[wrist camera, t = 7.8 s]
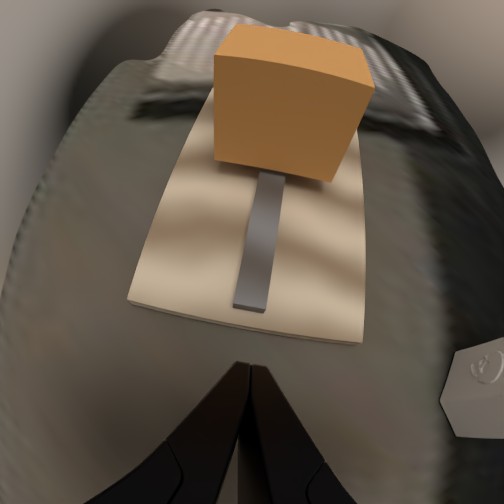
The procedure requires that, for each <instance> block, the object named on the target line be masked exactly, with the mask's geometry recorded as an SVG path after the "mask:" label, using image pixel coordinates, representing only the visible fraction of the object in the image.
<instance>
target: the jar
mask: <svg viewBox="0 0 504 504" xmlns="http://www.w3.org/2000/svg"><path fill="white" fill-rule="evenodd" d="M440 403H441V405H442V407H443V409H444V411H445V413H446V415H447V418H448V420H449V422H450V424H451V426H452V428H453V431H454V433H455V435H456V436H457V437H470V438H495V439H504V337H502V338H499V339H496V340H493V341H490V342H487V343H483V344H480V345H477V346H474V347H470V348H467V349H463V350H459V351H456V352H455V354H454V358H453V361H452V365H451V368H450V371H449V374H448V377H447V380H446V383H445V386H444V389H443V392H442V395H441V398H440Z"/></svg>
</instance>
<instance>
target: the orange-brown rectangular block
mask: <svg viewBox="0 0 504 504" xmlns="http://www.w3.org/2000/svg"><path fill="white" fill-rule="evenodd" d="M374 89H375V86H374V83H373V80H372V77H371V74H370V71H369V68H368V65H367V62H366V59H365V57H364V54H363V51H362V49H360V48H357V47H353V46H350V45H347V44H343V43H340V42H336V41H333V40H329V39H325V38H321V37H317V36H312V35H308V34H303V33H298V32H293V31H288V30H282V29H276V28H270V27H263V26H255V25H247V24H236V25H235V26H234V28H233V29H232V30H231V32H230V33H229V34H228V36H227V37H226V39H225V40H224V41H223V43H222V44H221V45H220V47H219V48H218V50H217V51H216V53H215V54H214V160H217V161H224V162H230V163H236V164H242V165H248V166H253V167H259V168H264V169H269V170H275V171H280V172H285V173H289V174H294V175H299V176H303V177H308V178H312V179H317V180H321V181H325V182H330V183H331V182H332V180H333V178H334V176H335V174H336V172H337V170H338V168H339V166H340V164H341V162H342V159H343V157H344V155H345V153H346V151H347V149H348V147H349V145H350V142H351V140H352V138H353V136H354V134H355V132H356V129H357V127H358V125H359V123H360V121H361V118H362V116H363V114H364V112H365V109H366V107H367V105H368V103H369V100H370V98H371V96H372V94H373V91H374Z"/></svg>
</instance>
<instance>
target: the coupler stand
mask: <svg viewBox="0 0 504 504" xmlns="http://www.w3.org/2000/svg"><path fill="white" fill-rule="evenodd" d="M127 300H128V301H129V302H130V303H131V304H133V305H137V306H141V307H145V308H149V309H153V310H157V311H161V312H165V313H169V314H174V315H178V316H182V317H187V318H191V319H196V320H200V321H205V322H210V323H215V324H220V325H225V326H230V327H235V328H240V329H246V330H251V331H257V332H263V333H269V334H275V335H281V336H287V337H294V338H301V339H308V340H315V341H323V342H331V343H339V344H348V345H358V344H360V343H362V342H363V327H364V308H365V218H364V199H363V185H362V172H361V162H360V152H359V143H358V135H357V129H356V132H355V134H354V136H353V138H352V140H351V142H350V145H349V147H348V149H347V151H346V153H345V155H344V157H343V159H342V162H341V164H340V166H339V168H338V170H337V172H336V174H335V176H334V178H333V180H332V182H331V183H330V182H325V181H321V180H317V179H312V178H308V177H303V176H299V175H294V174H289V173H285V172H280V171H275V170H269V169H264V168H259V167H253V166H248V165H242V164H236V163H230V162H224V161H217V160H214V88H212V90H211V92H210V94H209V96H208V98H207V100H206V102H205V104H204V106H203V108H202V110H201V112H200V114H199V116H198V118H197V120H196V122H195V124H194V126H193V128H192V130H191V132H190V134H189V136H188V138H187V141H186V143H185V145H184V147H183V149H182V152H181V154H180V156H179V158H178V161H177V163H176V165H175V167H174V170H173V172H172V174H171V177H170V179H169V182H168V184H167V186H166V189H165V191H164V194H163V196H162V199H161V201H160V204H159V206H158V209H157V212H156V214H155V217H154V220H153V222H152V225H151V228H150V230H149V233H148V236H147V239H146V242H145V245H144V247H143V250H142V253H141V256H140V259H139V262H138V265H137V268H136V272H135V275H134V278H133V281H132V284H131V288H130V291H129V294H128V298H127Z"/></svg>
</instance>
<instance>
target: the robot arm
mask: <svg viewBox="0 0 504 504" xmlns="http://www.w3.org/2000/svg"><path fill="white" fill-rule="evenodd" d="M237 438H238V504H357V503H356V502H355V501H354V499H353V498H352V497H351V496H350V495H349V493H348V492H347V491H346V490H345V489H344V487H343V486H342V485H341V483H340V482H339V480H338V479H337V478H336V476H335V475H334V473H333V472H332V470H331V469H330V467H329V466H328V464H327V463H326V462H324V461H325V460H324V458H323V457H322V455H321V454H320V452H319V450H318V449H317V447H316V446H315V444H314V443H313V441H312V439H311V438H310V436H309V435H308V433H307V432H306V430H305V428H304V427H303V425H302V423H301V422H300V420H299V419H298V417H297V415H296V414H295V412H294V410H293V409H292V407H291V406H290V404H289V402H288V401H287V399H286V397H285V396H284V394H283V392H282V391H281V389H280V387H279V386H278V384H277V382H276V380H275V379H274V377H273V375H272V374H271V372H270V370H269V369H268V367H267V366H264V365H257V364H252V365H250V364H249V363H245V362H240V361H236V362H234V363H233V364H232V366H231V367H230V368H229V369H228V370H227V371H226V373H225V374H224V375H223V376H222V377H221V378H220V380H219V381H218V382H217V383H216V384H215V385H214V387H213V388H212V389H211V390H210V391H209V392H208V393H207V394H206V396H205V397H204V398H203V399H202V400H201V401H200V402H199V403H198V405H197V406H196V407H195V408H194V409H193V410H192V411H191V412H190V413H189V415H188V416H187V417H186V418H185V419H184V420H183V421H182V422H181V423H180V424H179V425H178V426H177V428H176V429H175V430H174V431H173V432H172V433H171V434H170V435H169V436H168V437H167V438H166V441H163V442H162V443H161V444H160V445H159V446H158V447H157V448H156V449H155V450H154V451H153V452H152V453H151V454H150V455H149V456H148V457H147V458H146V459H145V460H144V461H143V462H142V463H141V464H140V465H138V466H137V467H136V468H134V469H133V470H132V471H131V472H129V473H128V474H127V475H125V476H124V477H123V478H121V479H120V480H119V481H117V482H116V483H114V484H113V485H111V486H110V487H108V488H107V489H105V490H104V491H102V492H101V493H99V494H98V495H96V496H95V497H93V498H92V499H90V500H88V501H87V502H85V503H84V504H217V501H218V498H219V495H220V492H221V489H222V486H223V483H224V480H225V477H226V474H227V471H228V468H229V464H230V461H231V458H232V455H233V452H234V448H235V445H236V442H237Z"/></svg>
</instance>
